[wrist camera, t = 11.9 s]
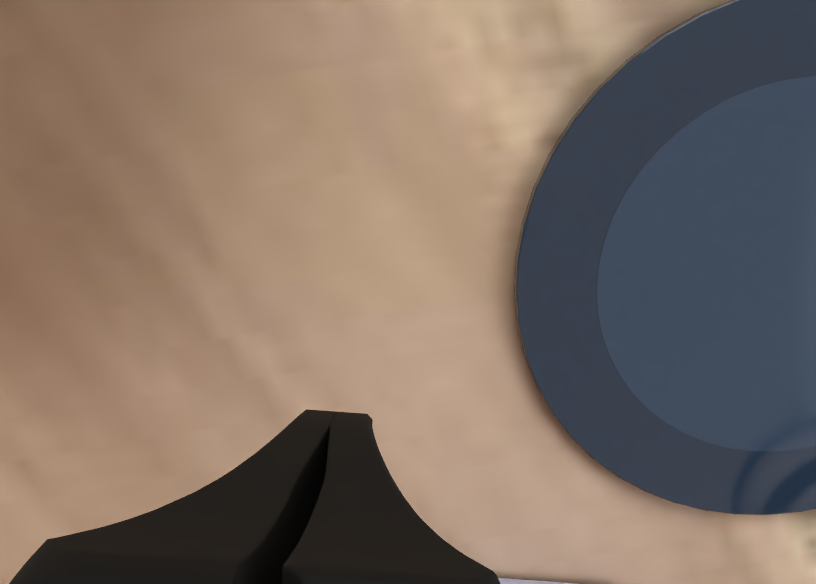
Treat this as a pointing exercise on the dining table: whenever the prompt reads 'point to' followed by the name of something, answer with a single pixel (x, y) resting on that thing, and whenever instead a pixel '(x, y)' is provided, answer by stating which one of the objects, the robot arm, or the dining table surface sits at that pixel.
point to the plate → (686, 264)
